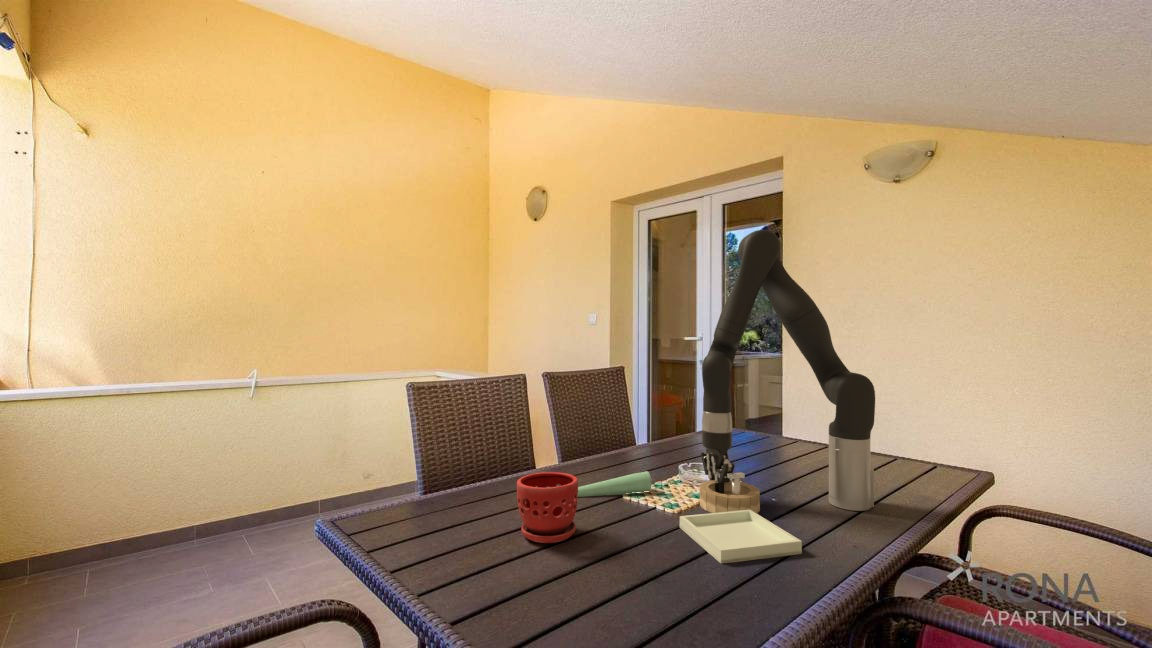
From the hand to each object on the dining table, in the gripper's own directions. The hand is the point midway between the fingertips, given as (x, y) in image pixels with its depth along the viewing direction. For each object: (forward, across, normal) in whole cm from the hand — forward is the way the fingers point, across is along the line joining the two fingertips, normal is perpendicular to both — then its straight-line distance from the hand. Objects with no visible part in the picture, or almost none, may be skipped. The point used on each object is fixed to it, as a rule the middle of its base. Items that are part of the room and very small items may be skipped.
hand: (716, 495), depth 131 cm
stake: (+1, -9, 0) cm, 9 cm away
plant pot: (+1, -12, +47) cm, 49 cm away
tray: (+1, -24, +9) cm, 26 cm away
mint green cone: (+1, +10, +28) cm, 30 cm away
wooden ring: (+1, -6, 0) cm, 6 cm away
